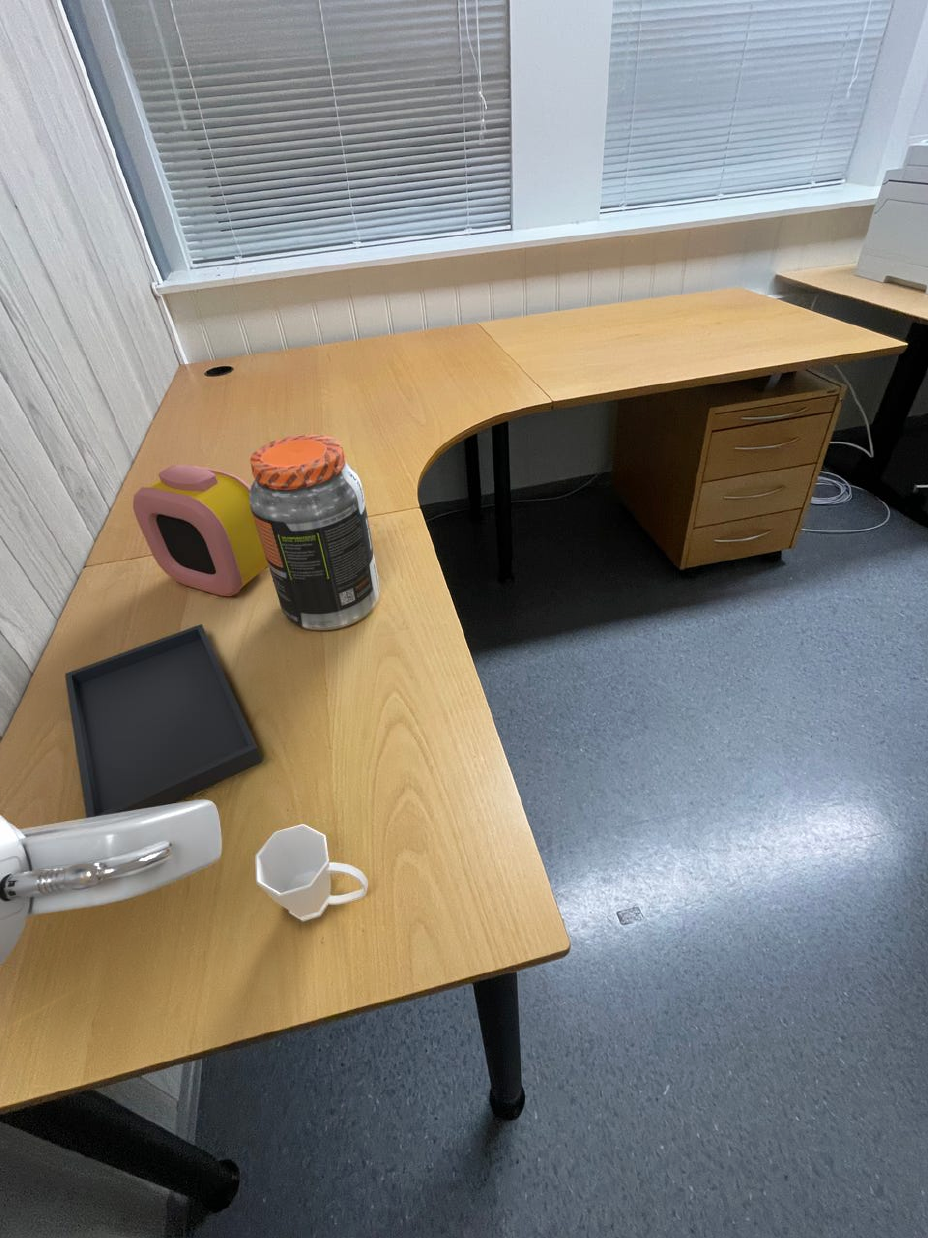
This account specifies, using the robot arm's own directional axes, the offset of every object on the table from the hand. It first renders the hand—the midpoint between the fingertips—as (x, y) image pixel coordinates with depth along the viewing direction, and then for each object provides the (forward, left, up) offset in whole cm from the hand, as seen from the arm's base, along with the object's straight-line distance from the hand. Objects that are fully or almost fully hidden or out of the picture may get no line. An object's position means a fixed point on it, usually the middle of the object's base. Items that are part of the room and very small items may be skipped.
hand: (130, 831), depth 41 cm
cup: (+9, -4, -23) cm, 25 cm away
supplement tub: (+48, +25, -23) cm, 58 cm away
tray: (+18, +30, -23) cm, 42 cm away
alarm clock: (+46, +47, -23) cm, 69 cm away
